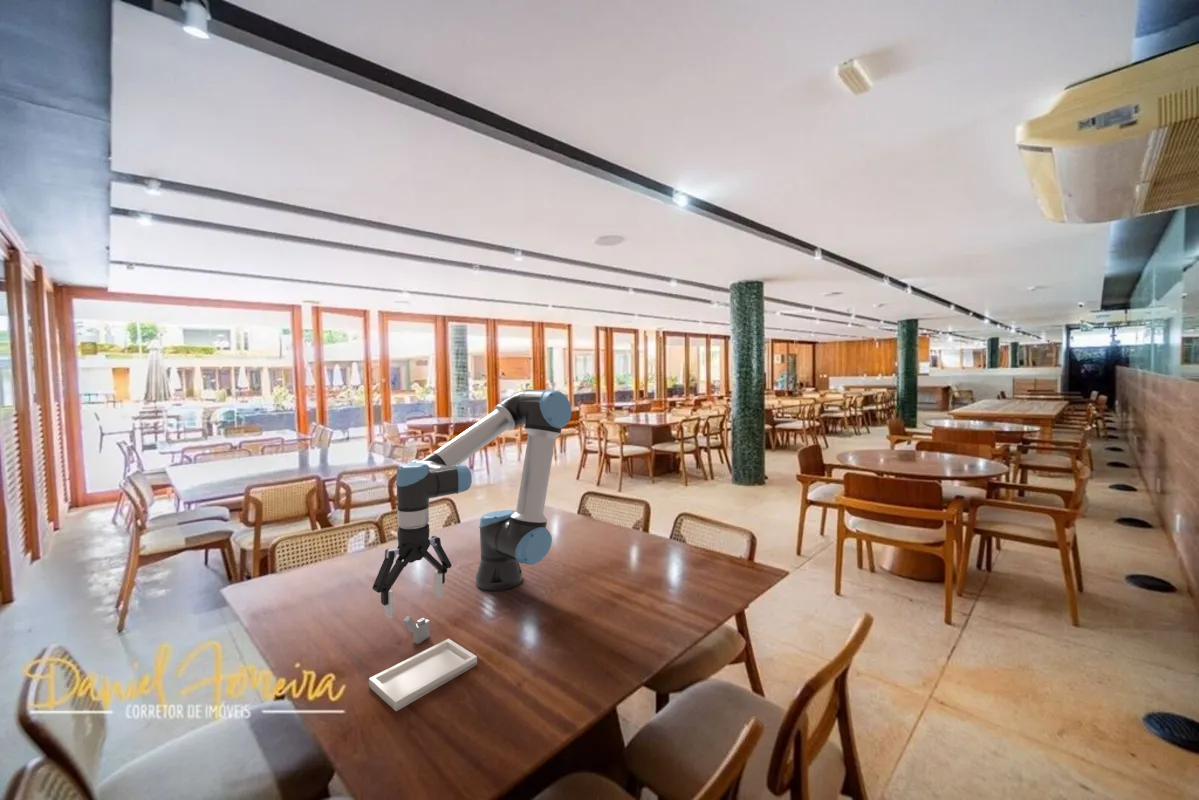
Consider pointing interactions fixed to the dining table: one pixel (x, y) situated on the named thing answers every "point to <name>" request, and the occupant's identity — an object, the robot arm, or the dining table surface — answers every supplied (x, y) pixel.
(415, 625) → the lighter
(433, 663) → the tray
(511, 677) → the dining table surface
